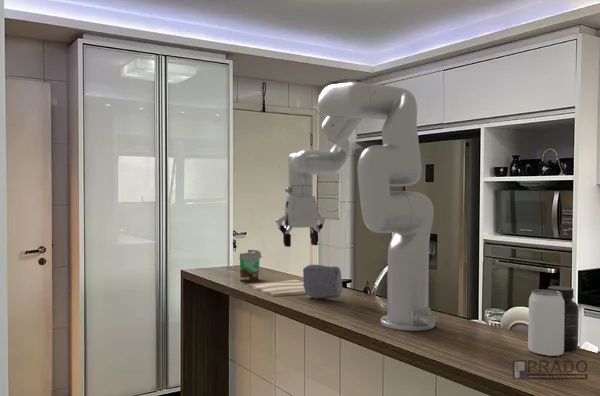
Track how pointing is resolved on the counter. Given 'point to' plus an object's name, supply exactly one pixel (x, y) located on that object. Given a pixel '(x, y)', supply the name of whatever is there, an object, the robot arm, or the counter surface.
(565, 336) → the supplement bottle
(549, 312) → the can
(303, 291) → the striped cloth
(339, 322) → the counter surface
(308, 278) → the stone block
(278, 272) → the counter surface
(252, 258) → the food container
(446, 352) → the counter surface
